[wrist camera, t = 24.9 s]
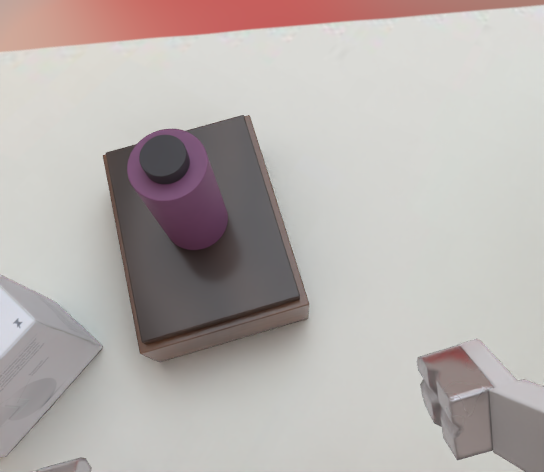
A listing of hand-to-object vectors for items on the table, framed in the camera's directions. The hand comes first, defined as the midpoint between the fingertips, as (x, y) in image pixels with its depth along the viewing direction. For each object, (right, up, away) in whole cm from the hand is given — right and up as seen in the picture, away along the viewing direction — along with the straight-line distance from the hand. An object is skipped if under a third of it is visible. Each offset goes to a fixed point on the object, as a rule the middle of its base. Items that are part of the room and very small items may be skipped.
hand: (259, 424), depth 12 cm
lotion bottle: (-5, +6, +25) cm, 26 cm away
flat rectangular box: (-5, +4, +30) cm, 31 cm away
